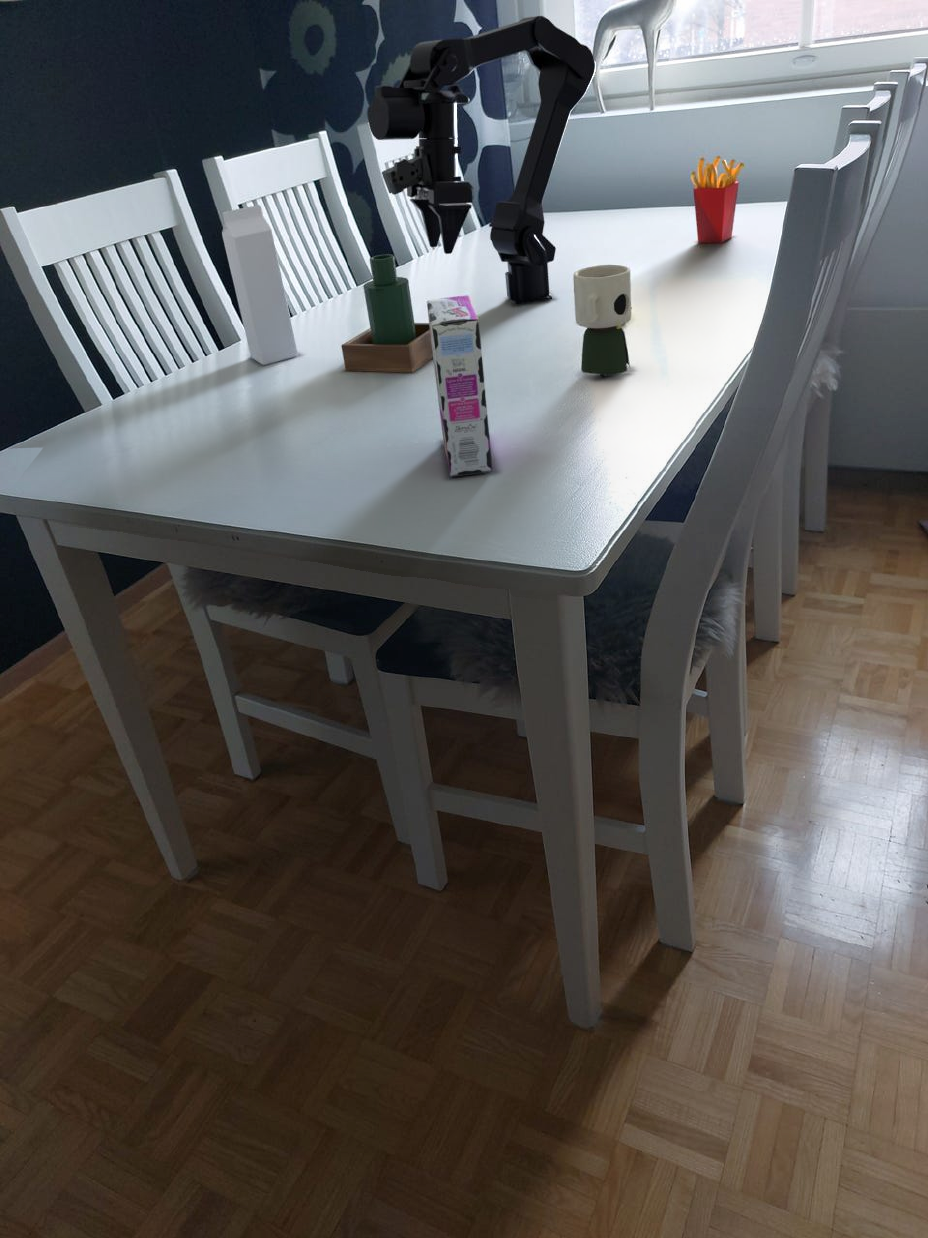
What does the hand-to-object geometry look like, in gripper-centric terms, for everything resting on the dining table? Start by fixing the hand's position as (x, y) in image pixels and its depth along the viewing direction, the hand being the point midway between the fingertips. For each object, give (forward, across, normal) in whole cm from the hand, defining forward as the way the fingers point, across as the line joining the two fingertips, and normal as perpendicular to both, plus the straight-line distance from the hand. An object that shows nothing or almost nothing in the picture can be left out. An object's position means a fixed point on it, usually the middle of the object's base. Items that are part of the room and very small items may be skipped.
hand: (440, 250), depth 148 cm
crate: (+13, +13, -10) cm, 21 cm away
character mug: (+12, +37, +13) cm, 41 cm away
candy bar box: (+16, +55, -11) cm, 58 cm away
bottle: (+13, +13, -10) cm, 21 cm away
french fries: (+4, -22, +61) cm, 65 cm away
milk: (+15, -1, -27) cm, 31 cm away
